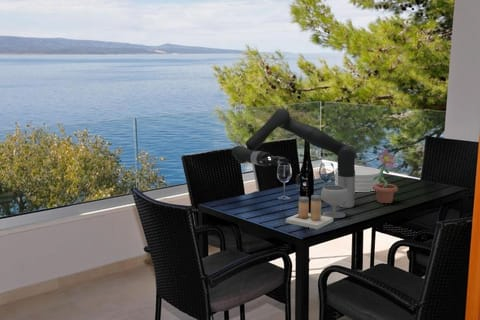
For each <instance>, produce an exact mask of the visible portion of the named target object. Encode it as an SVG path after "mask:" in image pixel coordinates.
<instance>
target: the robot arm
mask: <svg viewBox="0 0 480 320" xmlns="http://www.w3.org/2000/svg"><path fill="white" fill-rule="evenodd" d="M290 115H291V113H290V112H289V110H288V109H286V108H281V107H280V108H278V109H277V110H276V111H275V112H273V114H272V115H271V117H270V118H269V119H268V120H267V121H266V122H265V123H264V124H263V125H262V127H261V128H259V129H258V130H257V131H256V132H255V133H254V134H253V135H252V136H250V137H249V138H248V139H247V140H246V141H245V146H246V147H245V146H243V145H237V146H235V147H233V148H232V150H231V154H232V156H233V158H234V159H235V160H236V161H237V163H239V164H245V163H249V164H254V165H257V166H262V167H268V166H271V165H272V166H278V164H281V163H282V164H289V163H290V160H289V158H286V157H285V156H279V155H276V156H274V155H272V154H271V153H270V152H268V151H267V152H266V151H261V150H257V149H258V148H260V147H261V145H262V144H263V143H264V142H265V141H266V140H267V139H268V138H269V136H270V135H271V134H272V133H273V132H274V131H275V130H276V129H277V128H281V129H282V130H285V131H287V132H290V133H292V134H294V135H296V136H297V137H298V138H300V139H301V140H303V141H305V142H307V144H308V143H309V144H310V145H312V146H314V147H315V148H319V149H322V150H325V151H328V152H331V153H332V154H334V155H336V156H337V168H338V185H339V186H344V187H346V189H347V191H348V199H347V200H346V201H345V202H344V203H342V204H340V205H338V206H337V207H339V208H344V209H345V208H347V209H349V208H353V207H355V195H356V193H355V165H356V164H355V160H356V158H357V151H356V149H355V148H354V147H352V146H351V145H348V144H346V143H344V142H341V141H339V140H337V139H335V138H334V137H332V136H331V135H329V134H327V133H326V132H324V131H323V130H321V129H319V128H317V127H315V126H313V125H309V124H306V123H302V122H300V121H298V120H296V119H294V118H293V117H292V116H290Z"/></svg>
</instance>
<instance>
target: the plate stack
mask: <svg viewBox="0 0 480 320" xmlns="http://www.w3.org/2000/svg"><path fill="white" fill-rule="evenodd" d="M380 170H381V169H377V168H375V167H368V166H360V165H359V166H357V165H356V166H355V192H370V191H375V190H374V189H373V186H374V185H375V184H378V183H381V182H380V181H379V180H378V178H377V179H376V180H373V179H374V177H376V176H379V172H380ZM334 172H335V173H334V185H338V167H336V168H335V171H334Z"/></svg>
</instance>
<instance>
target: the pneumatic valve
mask: <svg viewBox="0 0 480 320" xmlns="http://www.w3.org/2000/svg"><path fill="white" fill-rule="evenodd" d="M300 174H301V173H300ZM300 174H299V173H298V174H297V175H296V178H295V183H296V185H298V186H301V185H300ZM315 179H316V177H314V181H315Z"/></svg>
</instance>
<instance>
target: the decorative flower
mask: <svg viewBox="0 0 480 320" xmlns="http://www.w3.org/2000/svg"><path fill="white" fill-rule="evenodd" d="M378 160H379V161H380V163H381V165H382V166H381V169H379V170H380V172H379V176H376V177H374V179H373V180H376V179H377V178H378V180H379V181H380V182H379V183H378V184H375V185H374V186H373V189H374V190H376V201H377V203H379V204H383V203H386V205H388V204H387V203H389V204H392V203H393V200H394V195H395V194H394V193H396V192H398V191H399V187H398V186H397V185H396V184H392V183H388V181H387V180H386V179H385V177H383V173H384V172H385V173H386V174H390V172H389V170H388V169H393V168H395V165H396V164H397V160H396V159H395V158H394V155H393V153H391V152H388V150H386V149H384V150H381V151H380V155H379V156H378ZM387 168H388V169H387Z"/></svg>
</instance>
